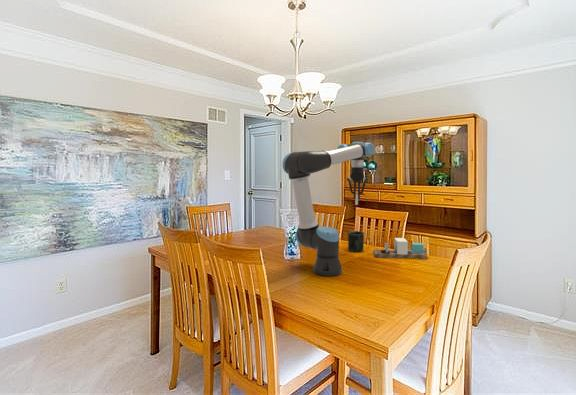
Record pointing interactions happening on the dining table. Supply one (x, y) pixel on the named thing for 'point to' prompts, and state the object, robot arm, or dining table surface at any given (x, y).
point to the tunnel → (401, 246)
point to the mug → (355, 241)
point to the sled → (408, 250)
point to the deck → (396, 255)
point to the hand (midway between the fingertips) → (356, 204)
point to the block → (417, 247)
